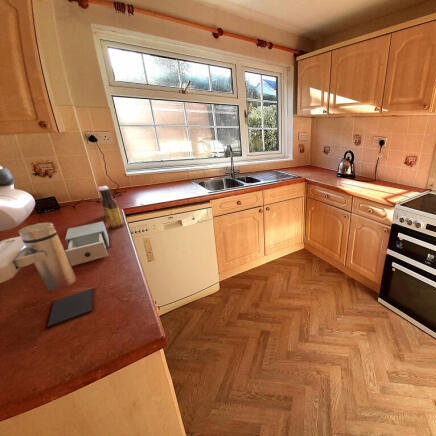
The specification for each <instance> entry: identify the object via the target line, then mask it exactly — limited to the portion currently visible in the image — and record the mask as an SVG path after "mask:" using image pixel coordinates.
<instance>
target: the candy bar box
mask: <svg viewBox="0 0 436 436" xmlns="http://www.w3.org/2000/svg"><path fill="white" fill-rule="evenodd" d="M96 188H97V192H98V196H99V198H100V200H101V202H102V195H101V193H100V189H103V188H109V186H108V185H102V186H97V187H96Z"/></svg>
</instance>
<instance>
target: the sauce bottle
mask: <svg viewBox="0 0 436 436" xmlns="http://www.w3.org/2000/svg"><path fill="white" fill-rule="evenodd" d="M100 193H101V195H102V201H101V209H102V211H103V215H104V217H105V219H106V222H107V225H108V227H109V228H110V229H111V230H112V229H118V228H121V227H123V226H124V220H123V218H122V214H121V211H120V209H119V206H118V202H117V200H116V199H115V198H114V197H113V195H112V191H111V188H109V187H108V188H103V189H100Z"/></svg>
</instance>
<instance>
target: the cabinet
mask: <svg viewBox="0 0 436 436" xmlns="http://www.w3.org/2000/svg"><path fill="white" fill-rule="evenodd" d="M97 233H102V236H103V239H104V242H105V245H106V249H107V248H110V239H109V235H108V231H107V229H106V226H105V223H104V220H103V221H98V222H93V223H88V224H84V225H79V226H74V227H70V228H67V232H66V235H65V238H64V240H65V243H66V245H67V247H68V246H69V242H70V240H71V239H76V238H80V237H84V236H89V235H93V234H97Z"/></svg>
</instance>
